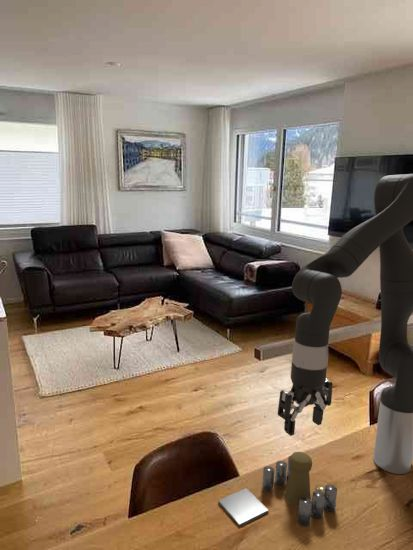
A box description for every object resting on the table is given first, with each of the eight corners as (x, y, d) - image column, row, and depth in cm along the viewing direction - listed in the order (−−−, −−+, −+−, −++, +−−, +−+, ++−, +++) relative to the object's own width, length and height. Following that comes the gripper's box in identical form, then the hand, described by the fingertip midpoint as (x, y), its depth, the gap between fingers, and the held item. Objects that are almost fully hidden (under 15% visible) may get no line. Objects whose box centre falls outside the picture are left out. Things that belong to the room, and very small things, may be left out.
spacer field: (292, 471, 106) (293, 454, 105) (337, 509, 94) (339, 490, 93) (260, 486, 100) (261, 468, 99) (303, 528, 88) (305, 508, 87)
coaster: (246, 490, 99) (246, 488, 99) (268, 512, 92) (268, 510, 92) (218, 502, 95) (218, 500, 94) (239, 526, 88) (239, 524, 88)
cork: (311, 509, 93) (315, 466, 91) (284, 504, 95) (287, 462, 92) (310, 490, 99) (314, 449, 97) (284, 486, 100) (287, 446, 98)
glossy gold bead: (318, 486, 101) (318, 481, 101) (330, 491, 99) (330, 487, 99) (313, 492, 99) (313, 488, 99) (325, 498, 97) (325, 494, 97)
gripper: (319, 349, 97) (313, 412, 100) (273, 361, 89) (268, 428, 93) (345, 361, 91) (337, 428, 94) (298, 374, 83) (291, 446, 86)
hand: (303, 428), depth 93 cm, fingers open, 8 cm apart
